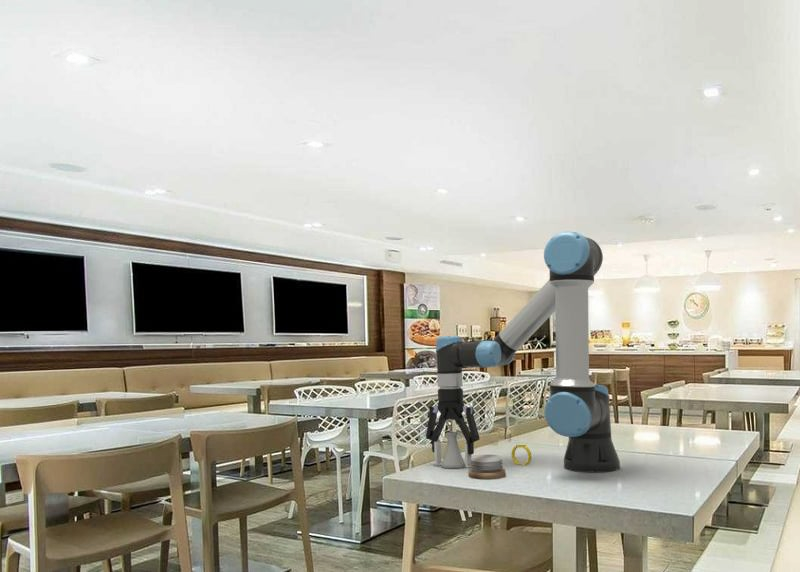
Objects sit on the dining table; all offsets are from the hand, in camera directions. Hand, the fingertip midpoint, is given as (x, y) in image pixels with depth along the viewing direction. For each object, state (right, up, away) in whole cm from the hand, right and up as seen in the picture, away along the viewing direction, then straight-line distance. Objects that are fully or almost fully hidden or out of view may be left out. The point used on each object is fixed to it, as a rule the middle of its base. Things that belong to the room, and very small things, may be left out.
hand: (453, 464), depth 191 cm
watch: (+20, 0, 0) cm, 20 cm away
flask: (0, -1, 0) cm, 1 cm away
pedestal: (+8, +1, -16) cm, 18 cm away
